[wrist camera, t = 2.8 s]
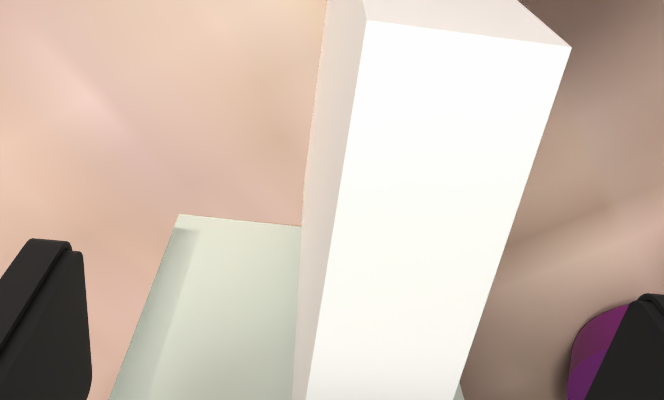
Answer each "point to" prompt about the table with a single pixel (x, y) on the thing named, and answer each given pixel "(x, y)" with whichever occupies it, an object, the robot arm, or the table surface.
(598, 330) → the mounting bracket
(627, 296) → the table surface
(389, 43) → the door
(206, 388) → the cabinet
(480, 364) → the table surface
